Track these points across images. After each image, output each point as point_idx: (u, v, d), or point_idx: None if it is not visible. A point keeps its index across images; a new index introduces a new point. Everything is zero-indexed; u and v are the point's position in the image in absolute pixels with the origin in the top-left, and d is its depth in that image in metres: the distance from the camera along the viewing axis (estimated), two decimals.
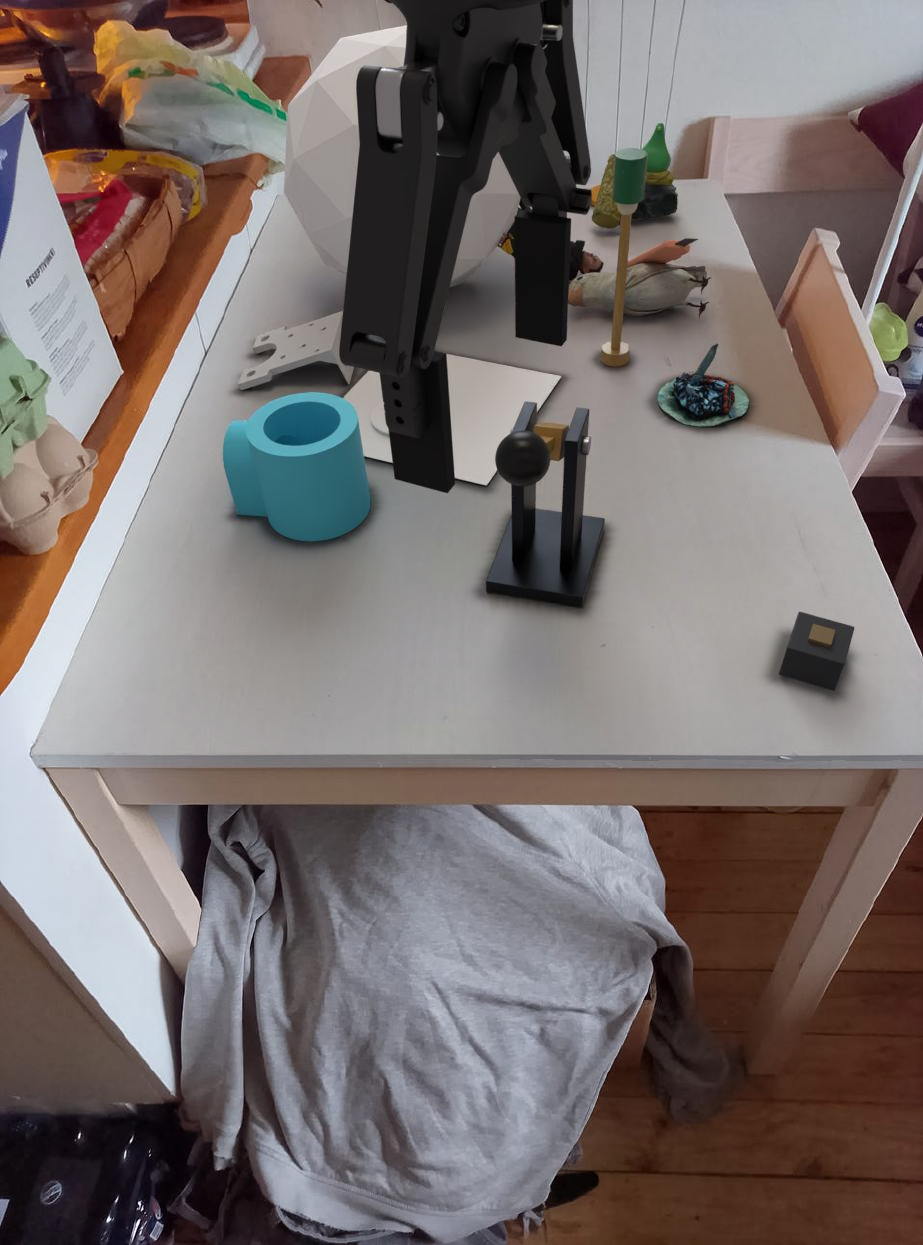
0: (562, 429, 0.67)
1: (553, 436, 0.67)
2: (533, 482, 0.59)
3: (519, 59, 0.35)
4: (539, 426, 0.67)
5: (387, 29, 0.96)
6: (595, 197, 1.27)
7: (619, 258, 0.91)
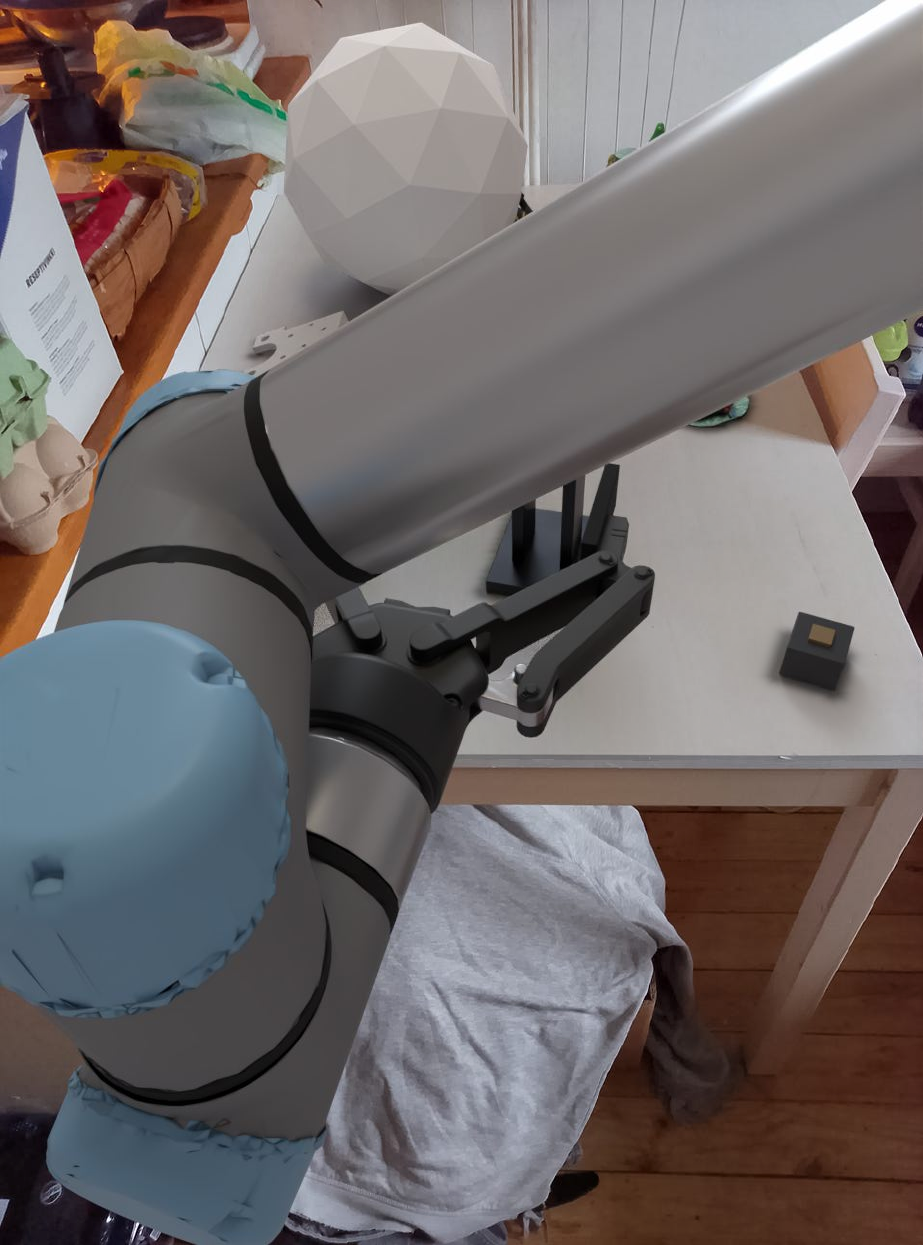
0: None
1: None
2: None
3: (378, 642, 0.39)
4: None
5: (387, 29, 0.96)
6: None
7: None
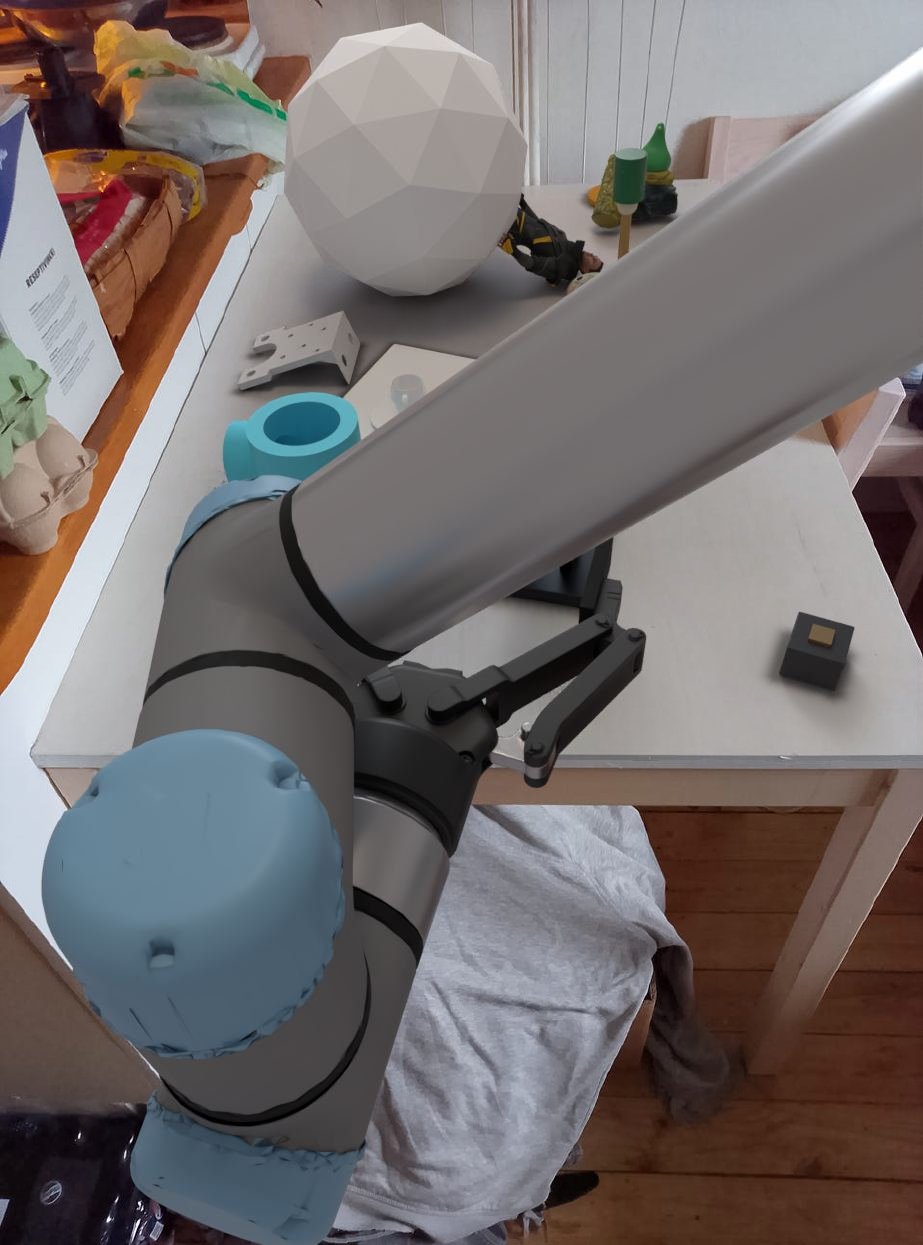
0: None
1: None
2: None
3: (399, 703, 0.44)
4: None
5: (387, 29, 0.96)
6: (595, 197, 1.27)
7: (619, 258, 0.91)
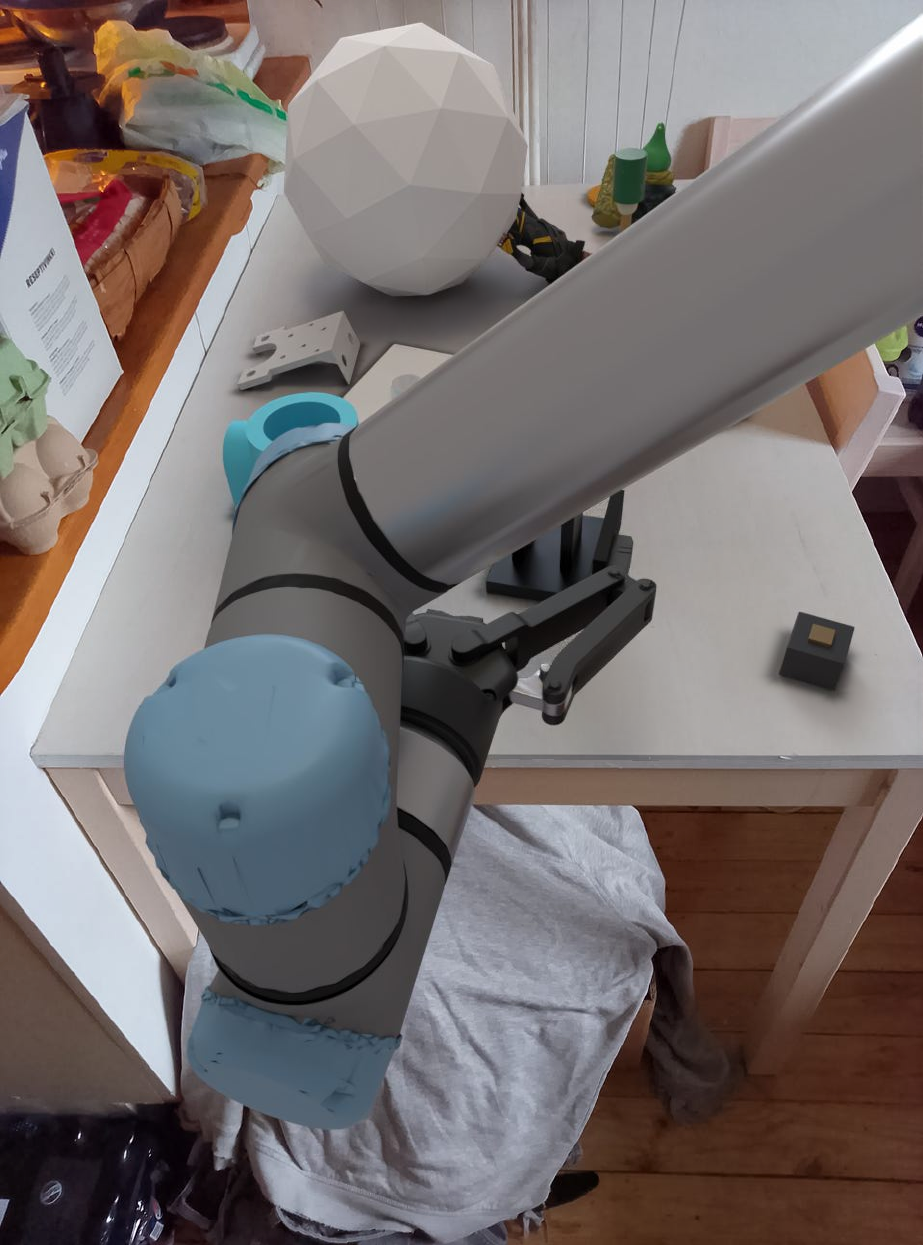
0: None
1: None
2: None
3: (424, 646, 0.47)
4: None
5: (387, 29, 0.96)
6: (595, 197, 1.27)
7: None
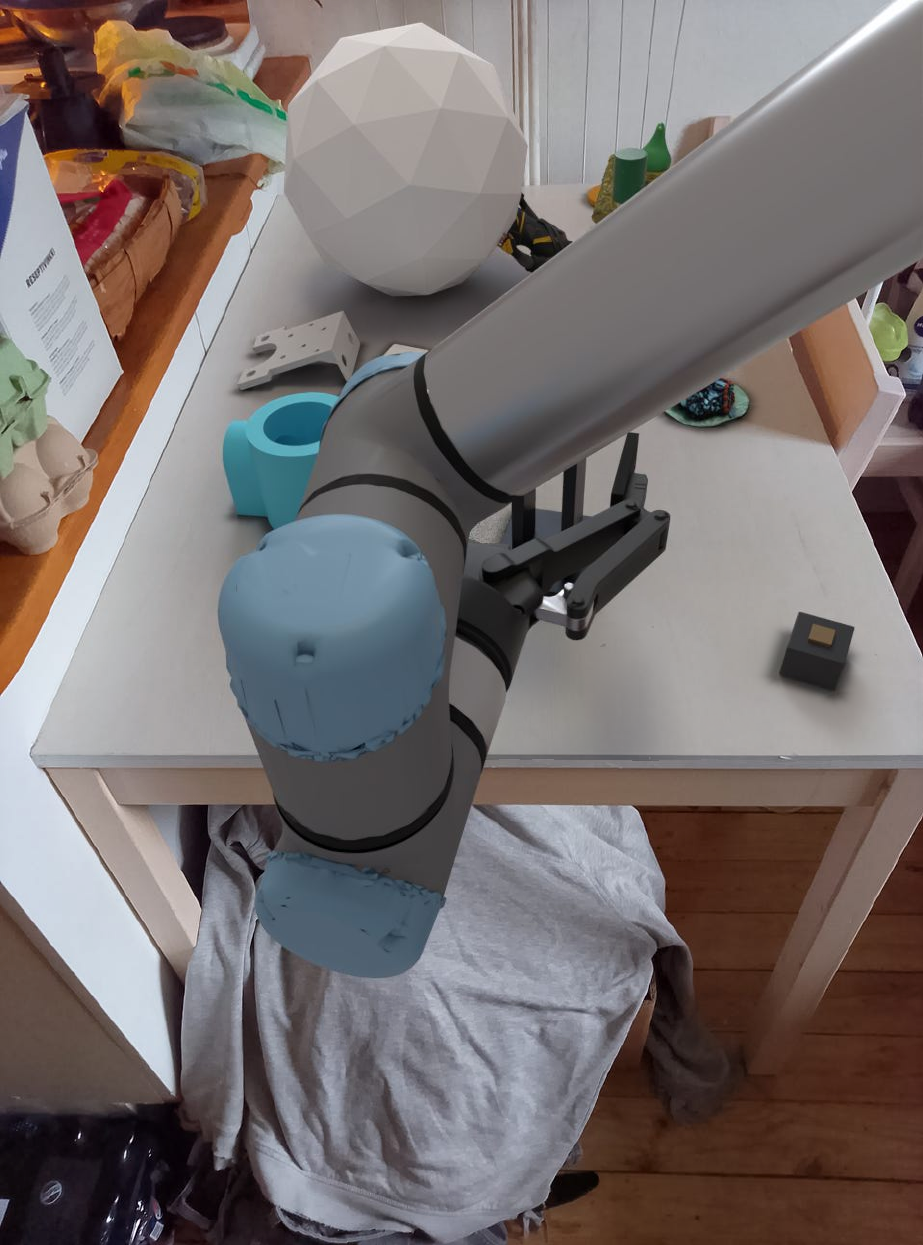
0: None
1: None
2: None
3: None
4: None
5: (387, 29, 0.96)
6: (595, 197, 1.27)
7: None
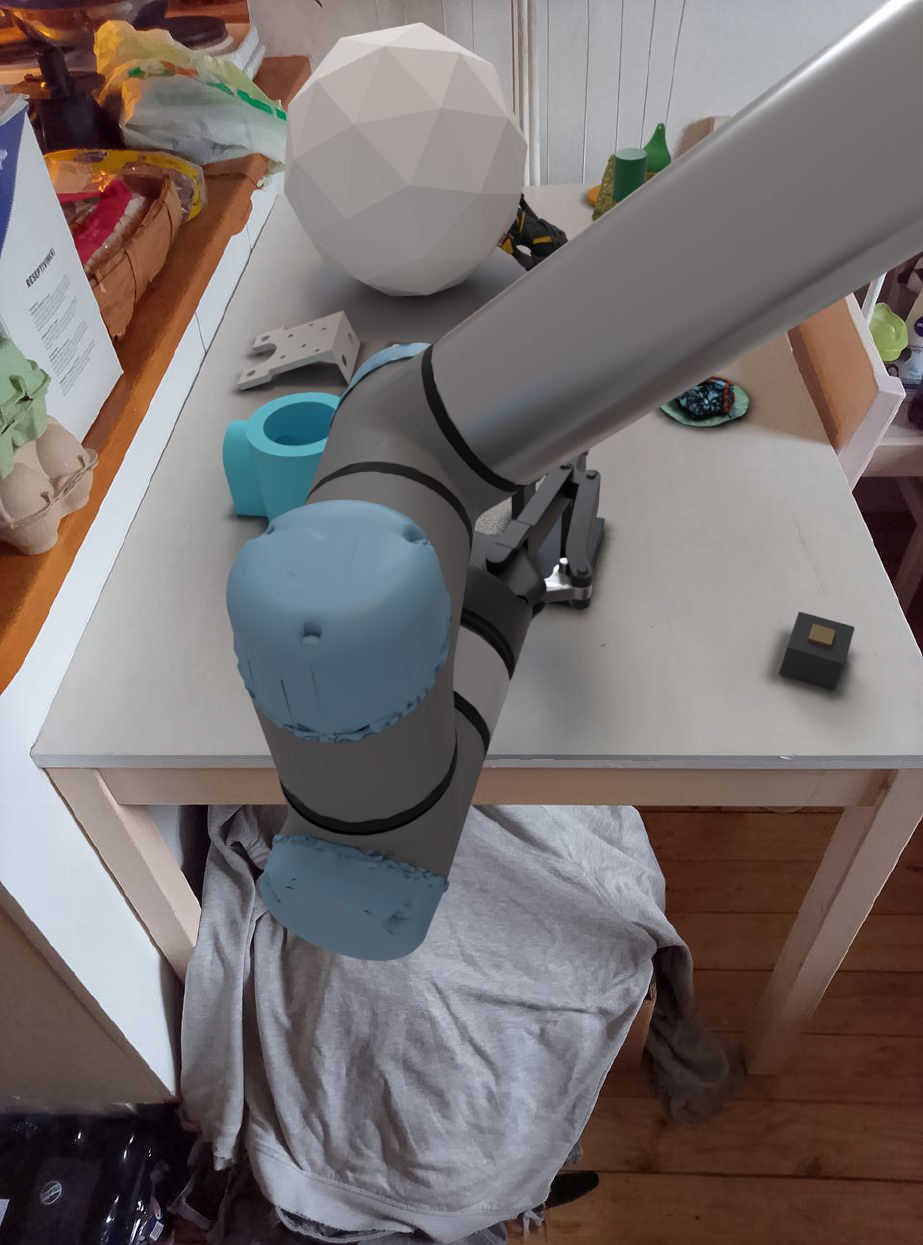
0: None
1: None
2: (533, 482, 0.59)
3: None
4: None
5: (387, 29, 0.96)
6: (595, 197, 1.27)
7: None
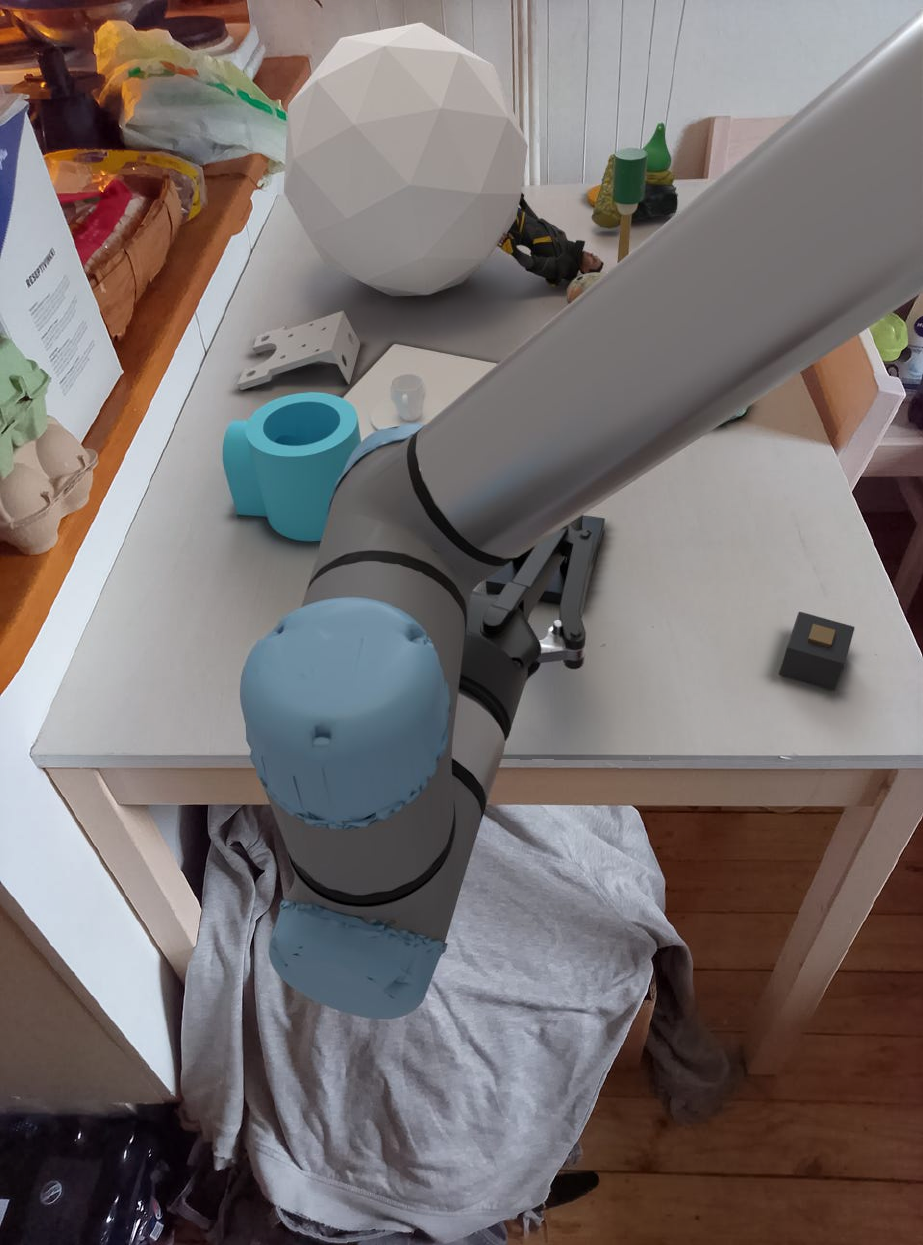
0: None
1: None
2: None
3: None
4: None
5: (387, 29, 0.96)
6: (595, 197, 1.27)
7: (619, 258, 0.91)
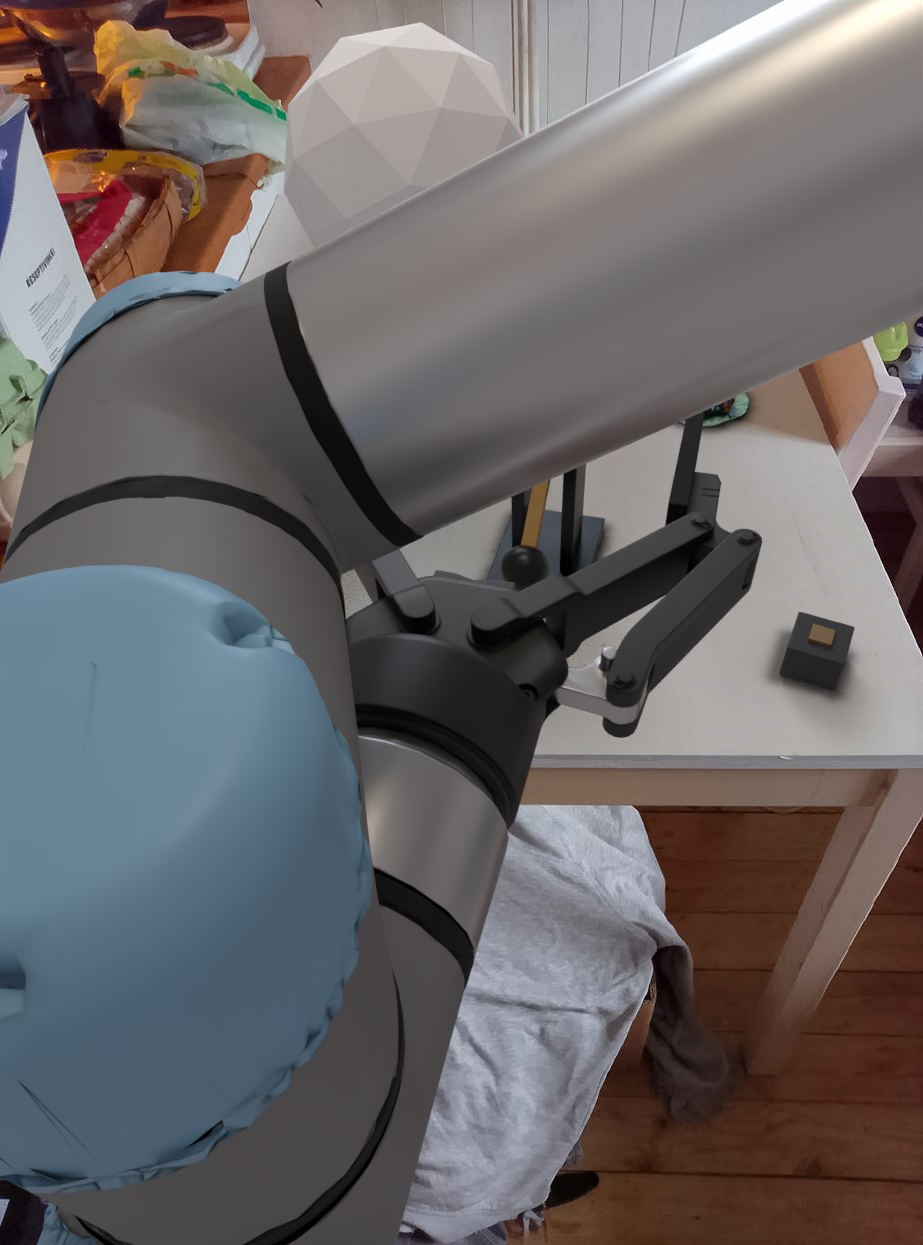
0: None
1: None
2: None
3: (432, 622, 0.32)
4: None
5: (387, 29, 0.96)
6: None
7: None
